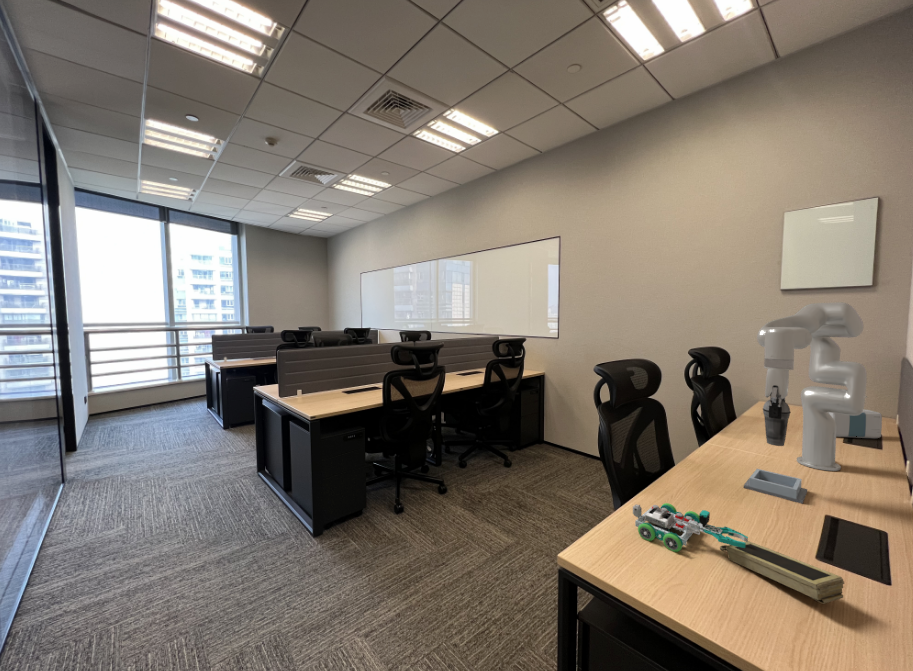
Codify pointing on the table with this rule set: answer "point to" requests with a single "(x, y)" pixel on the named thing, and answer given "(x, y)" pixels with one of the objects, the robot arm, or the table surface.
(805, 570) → the box
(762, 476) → the blue-grey tray
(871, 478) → the table surface
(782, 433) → the beverage cup
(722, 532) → the robot kit
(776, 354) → the robot arm
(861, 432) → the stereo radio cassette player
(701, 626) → the table surface
